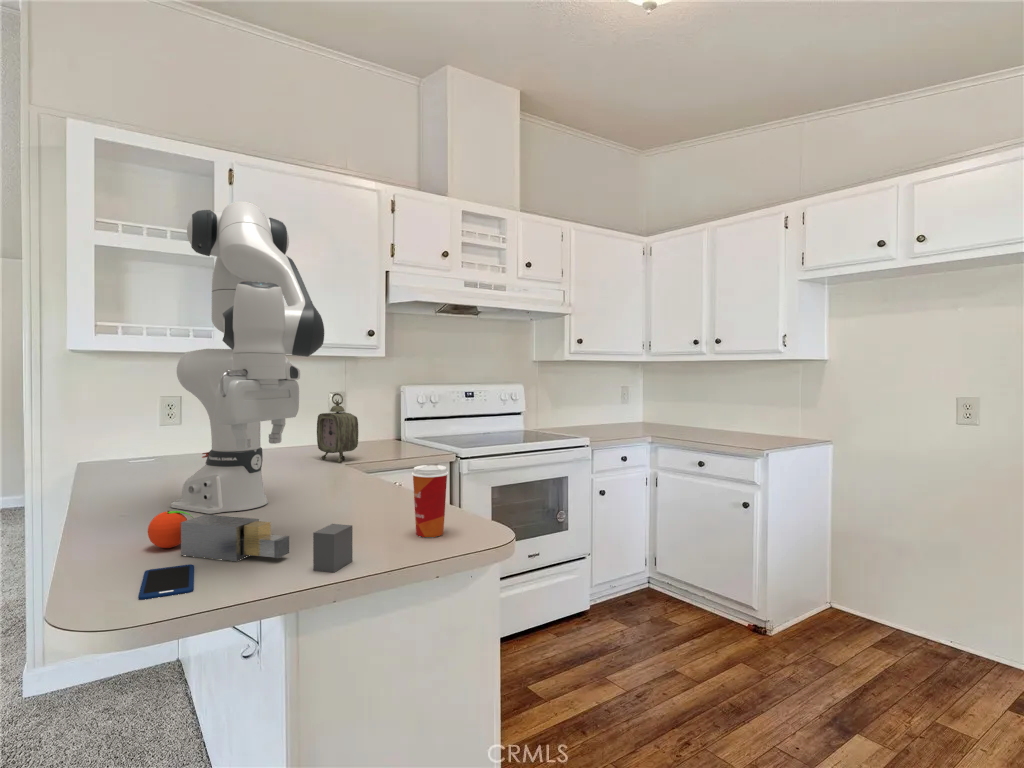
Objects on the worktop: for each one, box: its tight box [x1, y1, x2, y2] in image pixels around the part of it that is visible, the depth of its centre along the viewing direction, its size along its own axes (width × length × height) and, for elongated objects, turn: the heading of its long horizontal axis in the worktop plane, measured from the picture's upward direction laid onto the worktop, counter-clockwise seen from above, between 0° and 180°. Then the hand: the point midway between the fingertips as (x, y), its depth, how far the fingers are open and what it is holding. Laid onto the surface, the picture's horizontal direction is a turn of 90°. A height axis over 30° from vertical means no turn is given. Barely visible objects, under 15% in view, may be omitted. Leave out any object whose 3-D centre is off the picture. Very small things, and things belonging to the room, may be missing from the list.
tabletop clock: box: [316, 392, 359, 464], centre depth 218 cm, size 14×9×25 cm, turn 49°
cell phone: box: [137, 563, 195, 601], centre depth 95 cm, size 7×14×1 cm, turn 28°
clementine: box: [147, 510, 194, 549], centre depth 114 cm, size 8×7×7 cm
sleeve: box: [180, 514, 260, 562], centre depth 109 cm, size 12×6×6 cm, turn 75°
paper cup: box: [410, 464, 449, 538], centre depth 123 cm, size 8×8×14 cm
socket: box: [312, 523, 353, 573], centre depth 103 cm, size 4×6×6 cm, turn 165°
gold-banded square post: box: [240, 520, 290, 559], centre depth 108 cm, size 19×3×5 cm, turn 75°
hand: (260, 446), depth 107 cm, fingers open, 8 cm apart
